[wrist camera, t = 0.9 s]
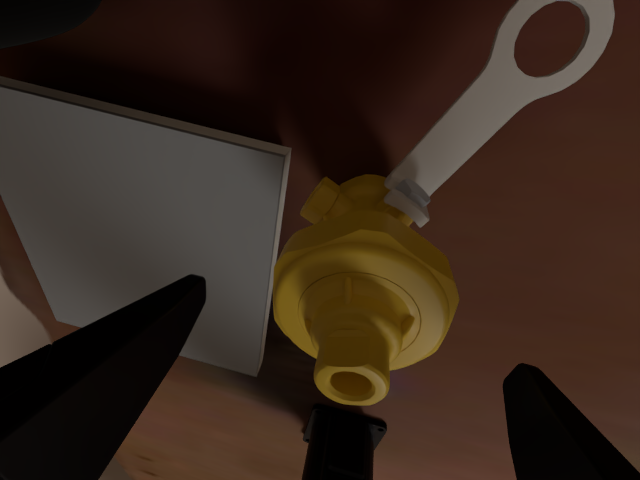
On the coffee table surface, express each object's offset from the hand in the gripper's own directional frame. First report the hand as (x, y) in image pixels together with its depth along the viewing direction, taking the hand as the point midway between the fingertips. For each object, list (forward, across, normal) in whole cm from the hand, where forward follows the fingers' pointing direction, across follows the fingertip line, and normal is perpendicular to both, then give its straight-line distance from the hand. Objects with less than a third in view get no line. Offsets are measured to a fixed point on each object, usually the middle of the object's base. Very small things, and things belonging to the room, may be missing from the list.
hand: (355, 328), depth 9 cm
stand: (+8, +12, +6) cm, 15 cm away
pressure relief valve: (+8, -1, -3) cm, 9 cm away
